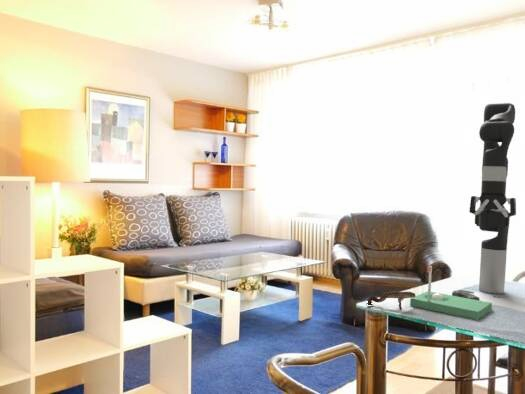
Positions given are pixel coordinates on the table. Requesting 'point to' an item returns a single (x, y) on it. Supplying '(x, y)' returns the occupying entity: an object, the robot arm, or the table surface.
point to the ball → (437, 296)
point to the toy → (392, 295)
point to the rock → (464, 295)
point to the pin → (429, 269)
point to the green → (453, 305)
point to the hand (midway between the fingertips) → (491, 227)
